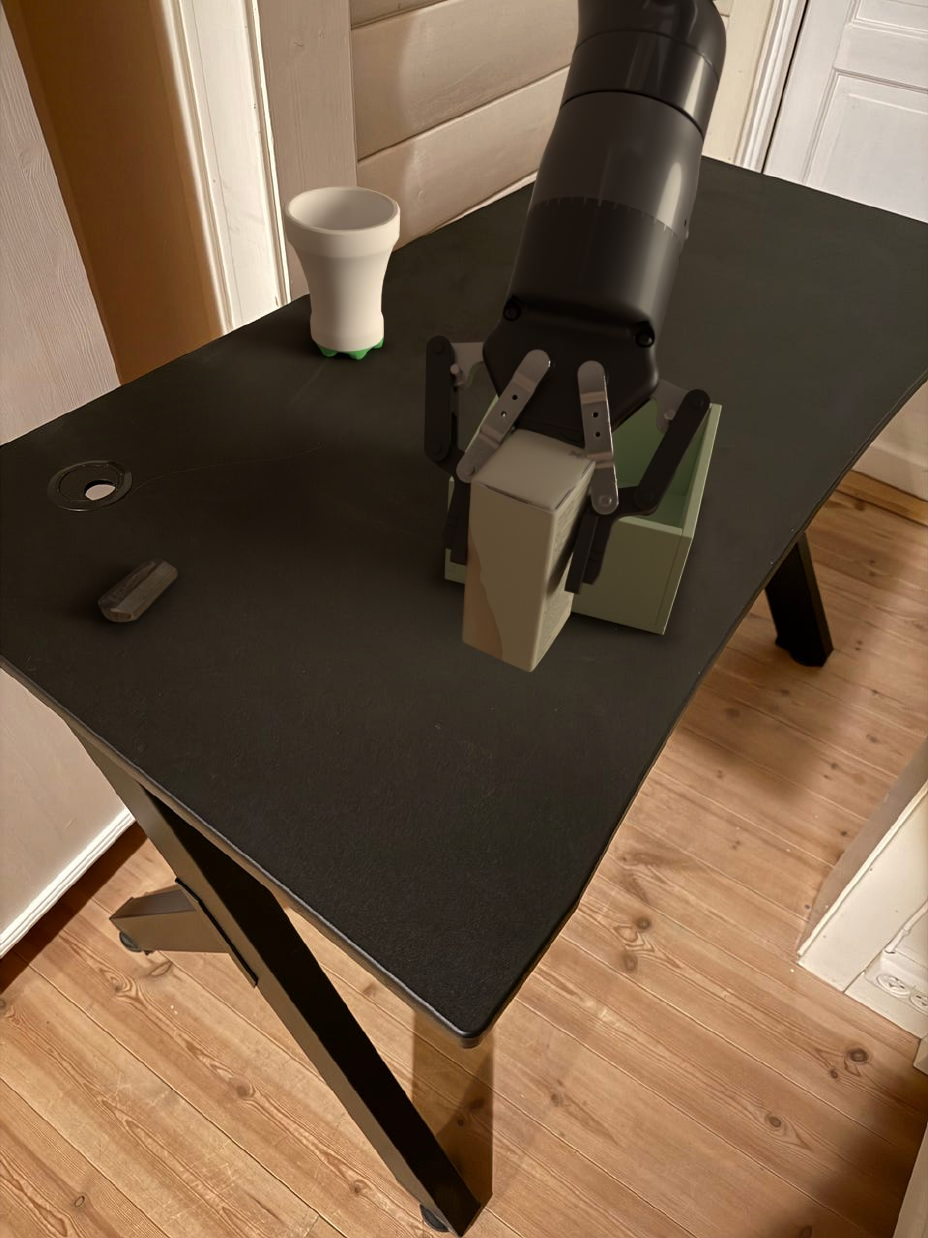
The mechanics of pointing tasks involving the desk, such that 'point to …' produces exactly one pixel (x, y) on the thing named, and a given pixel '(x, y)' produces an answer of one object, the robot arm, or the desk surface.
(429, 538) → the desk surface
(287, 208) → the cup
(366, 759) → the desk surface
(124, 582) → the block
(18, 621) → the desk surface
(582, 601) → the bin
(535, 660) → the box
